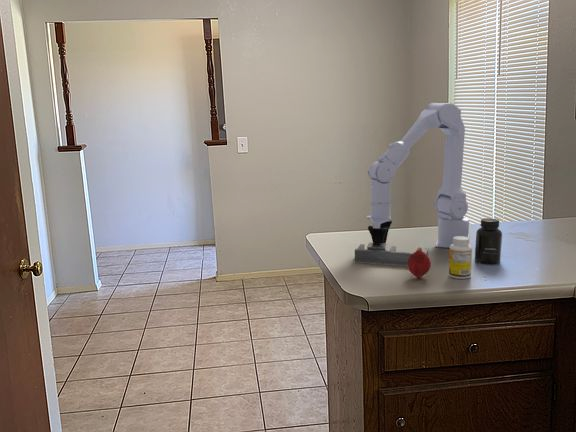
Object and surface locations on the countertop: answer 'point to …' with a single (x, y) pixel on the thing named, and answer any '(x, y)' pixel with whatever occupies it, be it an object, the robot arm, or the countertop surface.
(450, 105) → the robot arm
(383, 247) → the block
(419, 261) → the onion
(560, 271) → the countertop surface
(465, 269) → the supplement bottle
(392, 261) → the bracket
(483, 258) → the supplement bottle
